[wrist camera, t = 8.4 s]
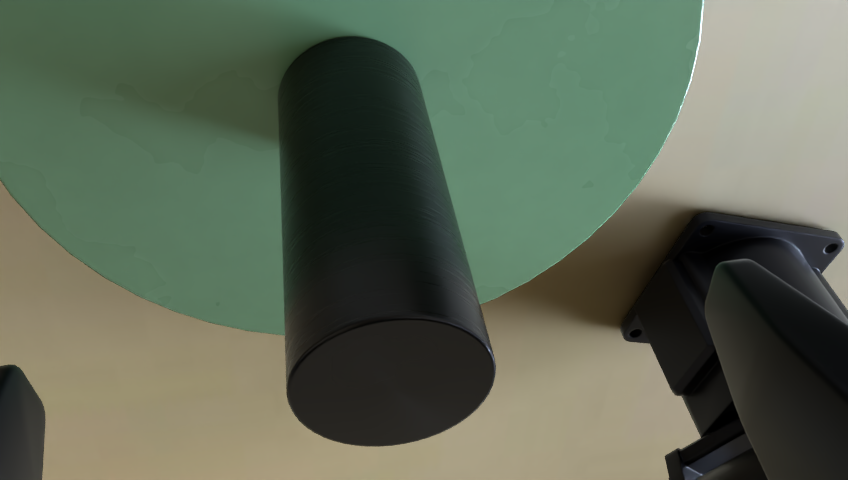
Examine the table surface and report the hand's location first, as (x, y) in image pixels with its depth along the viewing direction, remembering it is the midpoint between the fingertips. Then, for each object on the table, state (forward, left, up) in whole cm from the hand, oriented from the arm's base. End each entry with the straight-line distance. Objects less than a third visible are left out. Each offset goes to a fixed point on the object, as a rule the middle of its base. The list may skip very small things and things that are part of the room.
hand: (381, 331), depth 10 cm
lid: (0, 0, -5) cm, 5 cm away
